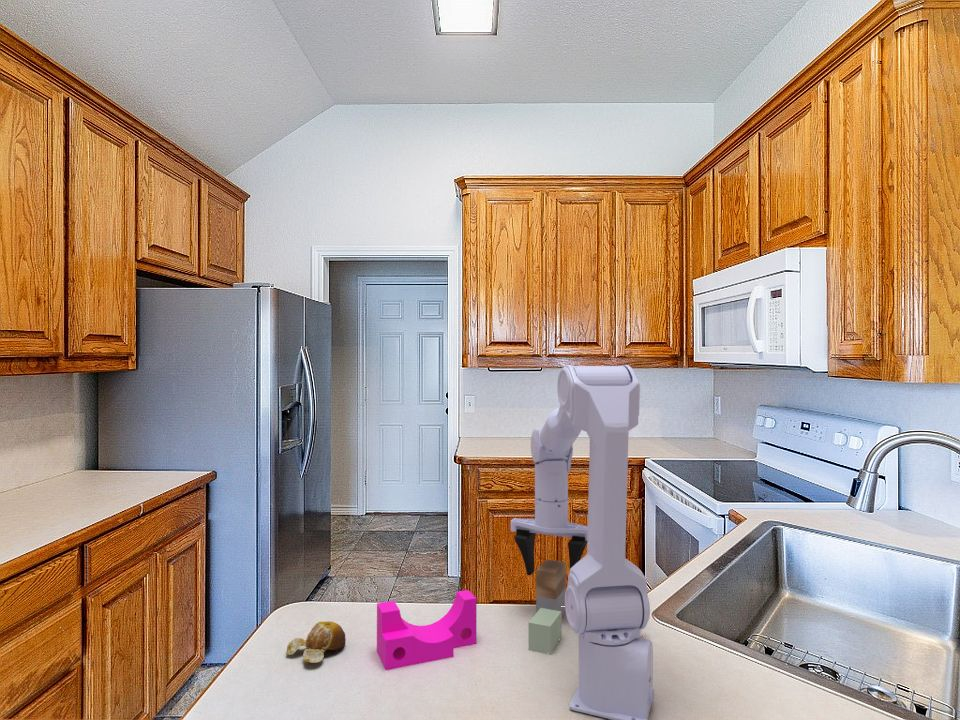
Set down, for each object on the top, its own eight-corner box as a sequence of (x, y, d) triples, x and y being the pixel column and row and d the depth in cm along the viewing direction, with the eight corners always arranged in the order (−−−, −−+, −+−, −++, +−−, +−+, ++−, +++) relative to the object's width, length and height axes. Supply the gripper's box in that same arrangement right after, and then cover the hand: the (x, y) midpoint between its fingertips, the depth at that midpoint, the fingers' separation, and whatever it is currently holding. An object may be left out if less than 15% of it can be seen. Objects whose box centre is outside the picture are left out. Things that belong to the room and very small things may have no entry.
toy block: (385, 671, 84) (385, 619, 85) (376, 652, 90) (376, 603, 90) (482, 653, 90) (482, 604, 90) (468, 636, 96) (468, 589, 96)
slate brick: (565, 613, 104) (565, 587, 104) (555, 626, 99) (555, 599, 99) (546, 609, 106) (546, 584, 106) (536, 622, 100) (536, 596, 100)
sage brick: (561, 639, 94) (561, 611, 94) (550, 656, 89) (550, 626, 89) (540, 635, 96) (540, 607, 96) (528, 651, 90) (528, 622, 90)
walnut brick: (565, 587, 104) (565, 562, 104) (555, 599, 99) (555, 572, 99) (546, 584, 106) (546, 559, 106) (535, 596, 100) (535, 569, 100)
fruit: (280, 649, 89) (281, 625, 90) (326, 634, 96) (328, 611, 96) (310, 667, 84) (311, 641, 84) (357, 650, 90) (359, 625, 90)
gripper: (597, 497, 103) (597, 575, 103) (519, 490, 109) (519, 563, 109) (588, 506, 97) (588, 588, 97) (506, 498, 103) (506, 576, 102)
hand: (551, 576), depth 102 cm, fingers open, 7 cm apart
